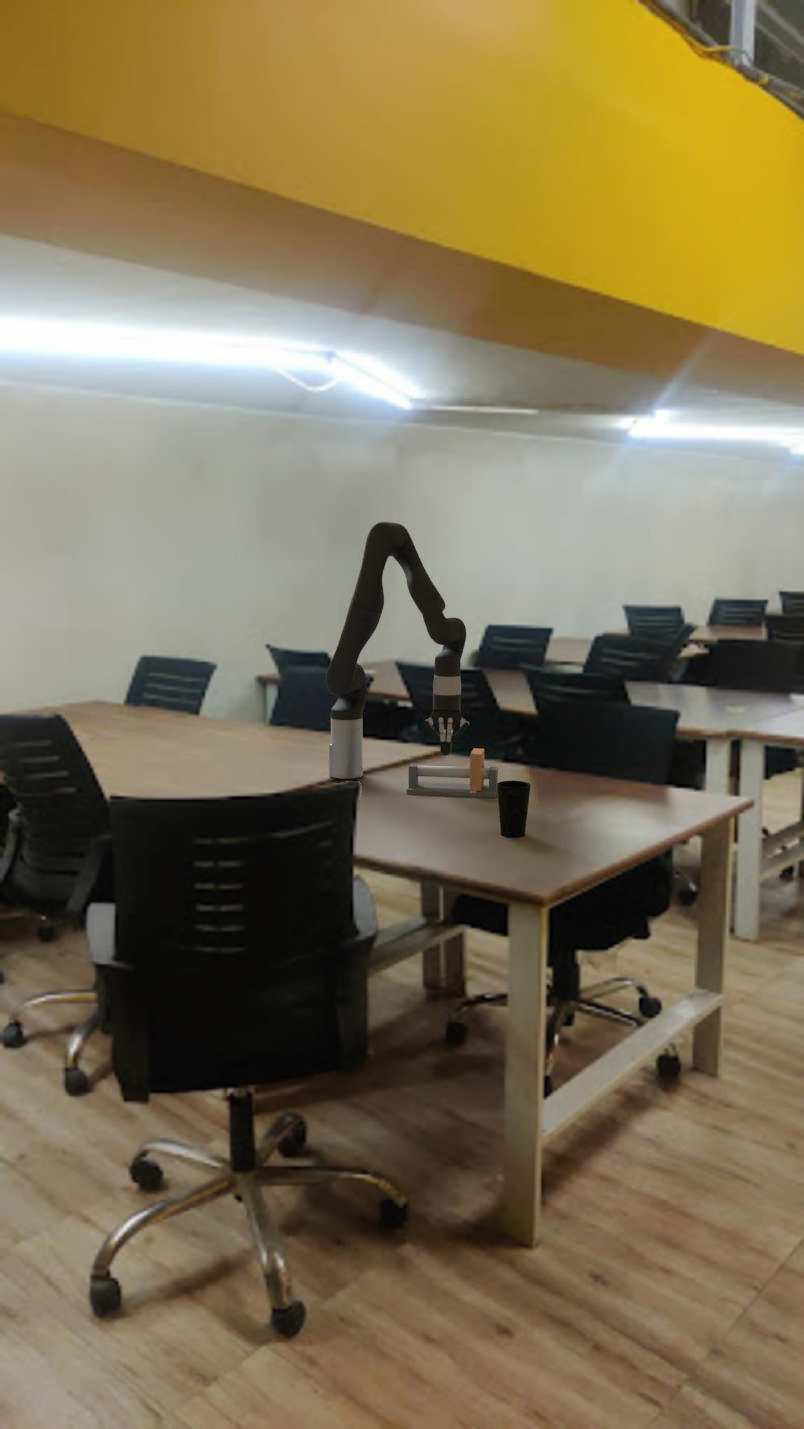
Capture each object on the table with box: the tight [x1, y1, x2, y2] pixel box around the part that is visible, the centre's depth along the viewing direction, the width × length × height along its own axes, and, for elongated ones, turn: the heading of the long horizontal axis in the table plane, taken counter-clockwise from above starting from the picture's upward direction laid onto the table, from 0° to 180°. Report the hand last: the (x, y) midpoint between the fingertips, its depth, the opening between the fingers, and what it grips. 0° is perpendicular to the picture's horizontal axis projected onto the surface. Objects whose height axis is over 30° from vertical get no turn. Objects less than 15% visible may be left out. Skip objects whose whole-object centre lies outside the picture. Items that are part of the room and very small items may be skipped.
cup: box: [497, 780, 532, 839], centre depth 238 cm, size 8×8×12 cm
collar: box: [469, 747, 485, 791], centre depth 278 cm, size 3×8×10 cm, turn 170°
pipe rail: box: [406, 763, 499, 799], centre depth 280 cm, size 24×10×7 cm, turn 80°
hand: (445, 754), depth 279 cm, fingers closed
